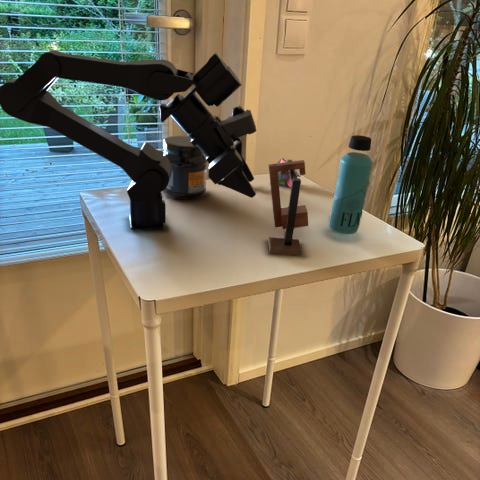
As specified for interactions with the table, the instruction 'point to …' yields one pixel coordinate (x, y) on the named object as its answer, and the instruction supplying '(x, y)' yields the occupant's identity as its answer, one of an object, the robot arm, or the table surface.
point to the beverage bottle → (351, 187)
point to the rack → (288, 224)
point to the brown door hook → (279, 212)
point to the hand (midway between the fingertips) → (253, 187)
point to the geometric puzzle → (285, 175)
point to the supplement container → (185, 168)
